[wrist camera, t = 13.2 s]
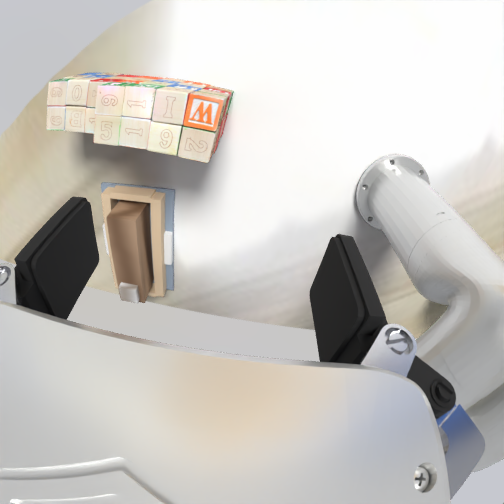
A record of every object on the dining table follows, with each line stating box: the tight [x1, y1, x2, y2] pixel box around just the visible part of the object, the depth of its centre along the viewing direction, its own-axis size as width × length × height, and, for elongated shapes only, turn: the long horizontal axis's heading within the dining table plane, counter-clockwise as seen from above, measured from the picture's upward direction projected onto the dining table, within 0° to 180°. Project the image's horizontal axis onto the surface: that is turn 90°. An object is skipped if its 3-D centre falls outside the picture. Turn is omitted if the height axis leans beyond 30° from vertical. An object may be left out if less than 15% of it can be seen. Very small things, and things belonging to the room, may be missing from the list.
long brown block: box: [106, 200, 154, 303], centre depth 41 cm, size 4×16×7 cm, turn 171°
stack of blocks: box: [47, 73, 234, 163], centre depth 26 cm, size 21×6×12 cm, turn 75°
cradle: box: [101, 182, 175, 297], centre depth 44 cm, size 12×20×3 cm, turn 170°
